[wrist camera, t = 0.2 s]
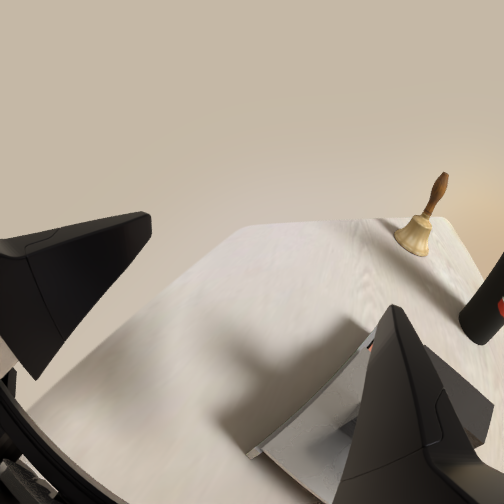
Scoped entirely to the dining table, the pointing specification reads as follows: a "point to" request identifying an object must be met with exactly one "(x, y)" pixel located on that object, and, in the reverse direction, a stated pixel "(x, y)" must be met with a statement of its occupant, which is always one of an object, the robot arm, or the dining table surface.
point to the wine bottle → (485, 308)
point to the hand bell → (422, 222)
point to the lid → (344, 421)
